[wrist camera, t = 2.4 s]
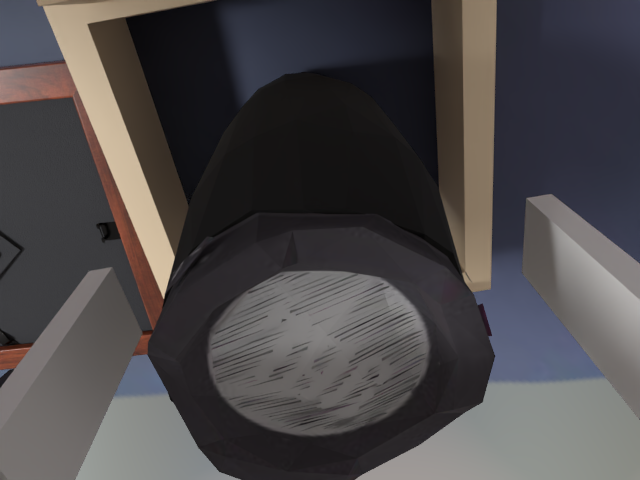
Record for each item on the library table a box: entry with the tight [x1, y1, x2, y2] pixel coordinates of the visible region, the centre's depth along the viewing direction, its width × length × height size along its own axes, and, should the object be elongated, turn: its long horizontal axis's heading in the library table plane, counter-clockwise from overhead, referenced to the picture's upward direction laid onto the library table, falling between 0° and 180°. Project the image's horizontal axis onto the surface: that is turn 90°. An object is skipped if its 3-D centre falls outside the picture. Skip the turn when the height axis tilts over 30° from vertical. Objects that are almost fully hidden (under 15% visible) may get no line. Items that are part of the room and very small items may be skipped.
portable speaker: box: [147, 72, 495, 480], centre depth 19 cm, size 9×9×20 cm
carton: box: [36, 0, 497, 299], centre depth 23 cm, size 19×19×10 cm
